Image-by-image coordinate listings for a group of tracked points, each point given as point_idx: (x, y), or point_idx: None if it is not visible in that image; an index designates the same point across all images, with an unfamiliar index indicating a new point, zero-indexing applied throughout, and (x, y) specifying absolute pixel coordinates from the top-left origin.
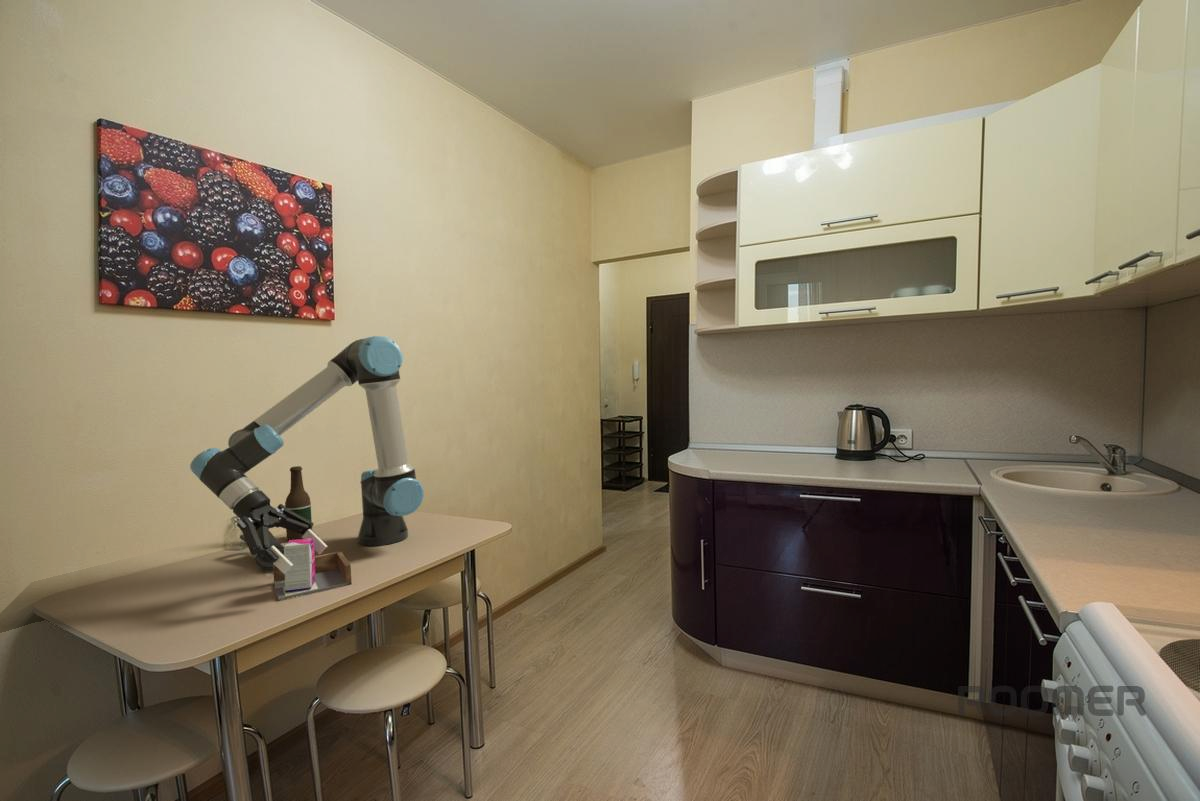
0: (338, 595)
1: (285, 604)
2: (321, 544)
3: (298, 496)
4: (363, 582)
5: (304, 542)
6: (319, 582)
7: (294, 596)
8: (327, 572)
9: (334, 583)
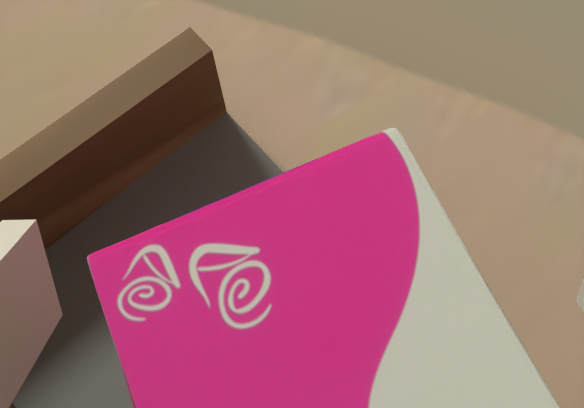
0: (365, 86)
1: (516, 308)
2: (11, 266)
3: None
4: None
5: (346, 233)
6: None
7: None
8: None
9: (231, 179)
